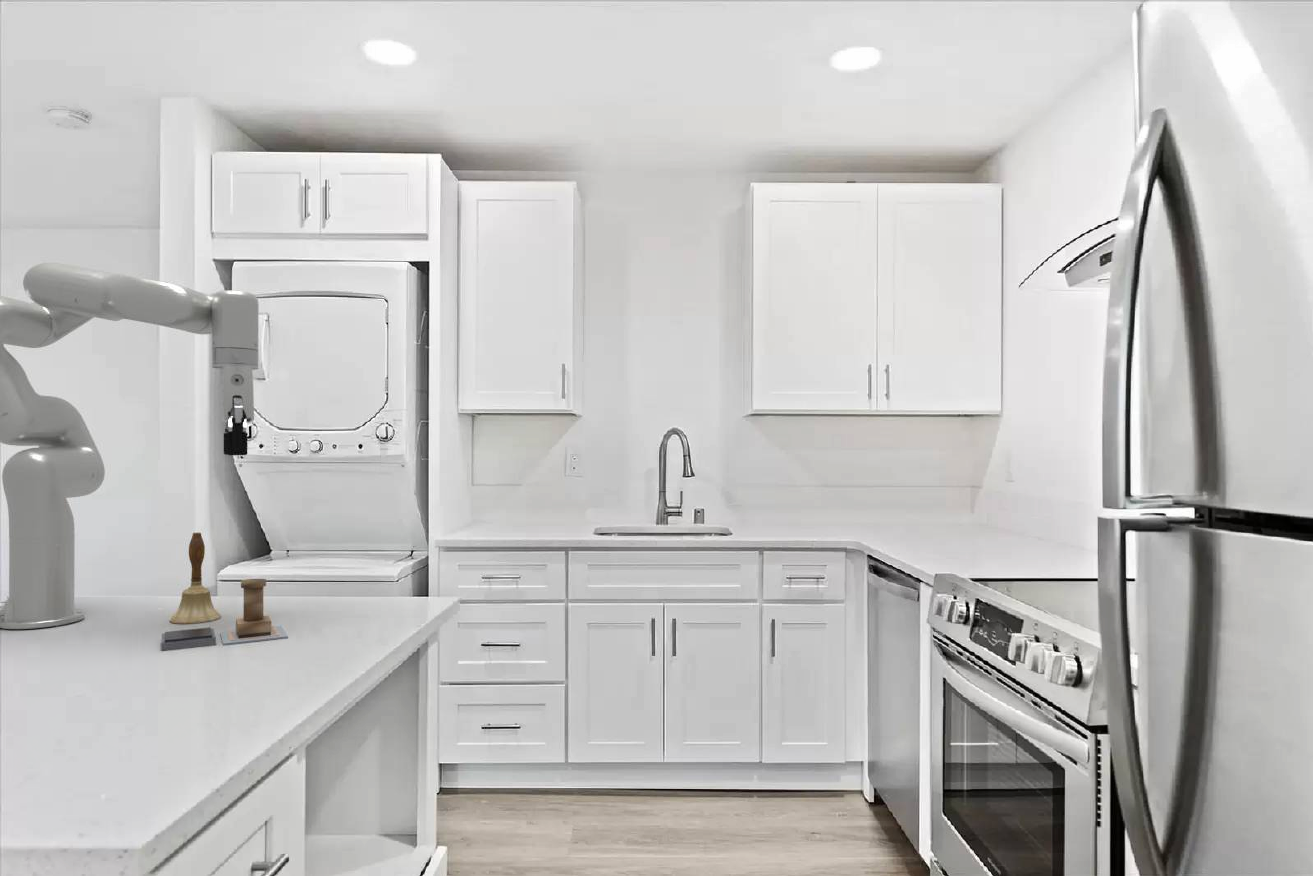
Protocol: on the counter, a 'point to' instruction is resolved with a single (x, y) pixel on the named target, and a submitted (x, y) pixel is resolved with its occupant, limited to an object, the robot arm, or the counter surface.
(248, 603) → the stamp
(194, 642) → the ink pad
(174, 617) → the hand bell
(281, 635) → the card
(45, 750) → the counter surface
